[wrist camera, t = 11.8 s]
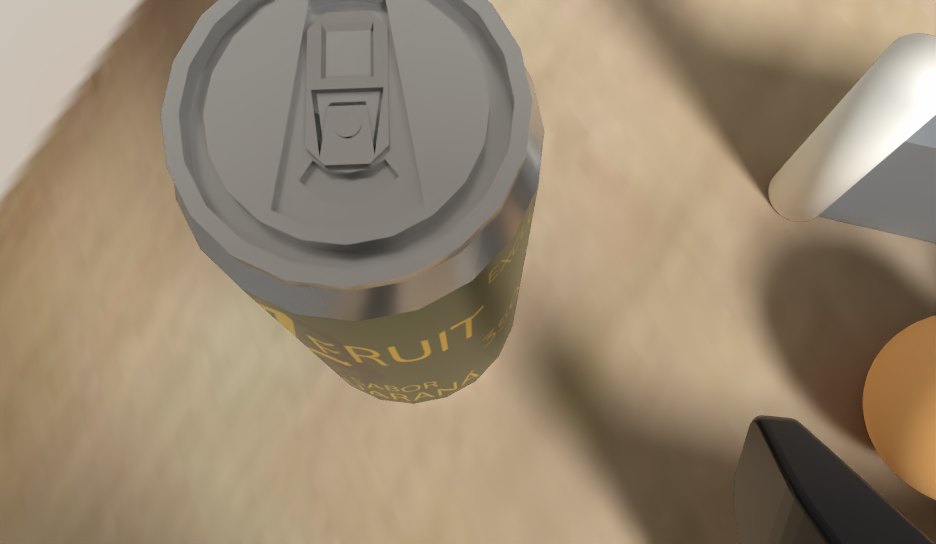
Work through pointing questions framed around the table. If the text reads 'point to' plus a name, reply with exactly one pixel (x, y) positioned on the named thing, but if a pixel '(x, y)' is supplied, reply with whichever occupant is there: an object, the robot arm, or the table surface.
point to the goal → (872, 150)
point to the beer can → (363, 177)
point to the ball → (905, 405)
